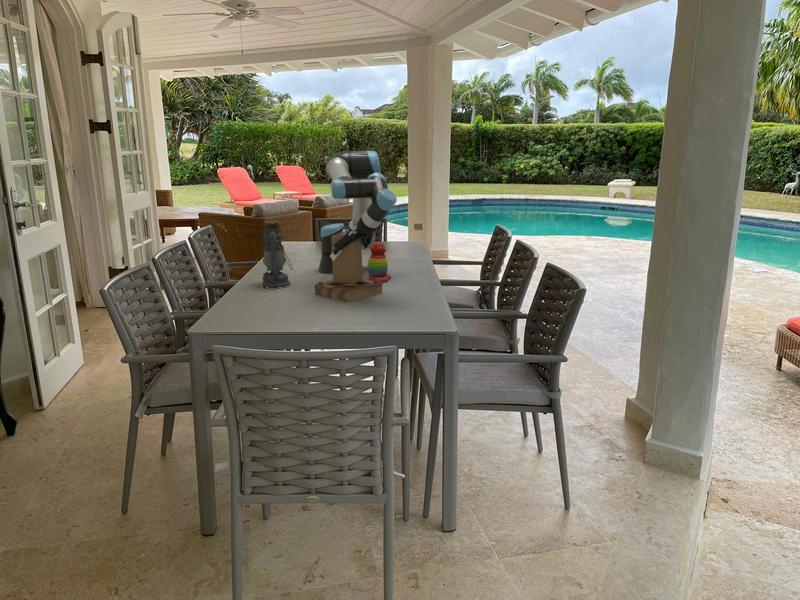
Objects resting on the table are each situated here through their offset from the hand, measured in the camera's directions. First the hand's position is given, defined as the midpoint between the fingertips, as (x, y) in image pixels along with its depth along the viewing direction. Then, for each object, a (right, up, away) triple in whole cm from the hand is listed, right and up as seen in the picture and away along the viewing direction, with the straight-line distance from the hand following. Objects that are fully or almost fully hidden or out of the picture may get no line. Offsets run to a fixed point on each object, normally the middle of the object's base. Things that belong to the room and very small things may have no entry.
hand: (343, 256), depth 251 cm
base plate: (+2, -16, +2) cm, 16 cm away
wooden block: (+2, -11, +1) cm, 11 cm away
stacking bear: (+14, -9, +30) cm, 34 cm away
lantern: (-32, -12, +21) cm, 40 cm away
